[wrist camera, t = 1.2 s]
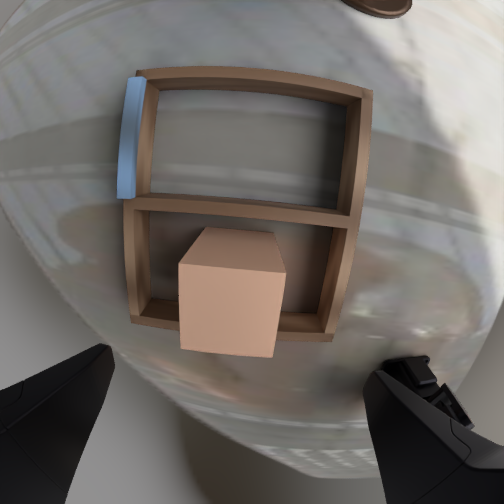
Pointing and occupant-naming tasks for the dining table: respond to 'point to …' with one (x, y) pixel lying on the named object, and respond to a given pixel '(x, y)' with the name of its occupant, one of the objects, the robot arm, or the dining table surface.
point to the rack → (141, 200)
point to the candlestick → (381, 7)
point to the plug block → (231, 293)
